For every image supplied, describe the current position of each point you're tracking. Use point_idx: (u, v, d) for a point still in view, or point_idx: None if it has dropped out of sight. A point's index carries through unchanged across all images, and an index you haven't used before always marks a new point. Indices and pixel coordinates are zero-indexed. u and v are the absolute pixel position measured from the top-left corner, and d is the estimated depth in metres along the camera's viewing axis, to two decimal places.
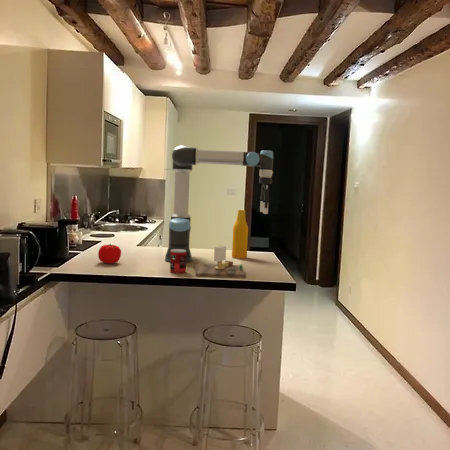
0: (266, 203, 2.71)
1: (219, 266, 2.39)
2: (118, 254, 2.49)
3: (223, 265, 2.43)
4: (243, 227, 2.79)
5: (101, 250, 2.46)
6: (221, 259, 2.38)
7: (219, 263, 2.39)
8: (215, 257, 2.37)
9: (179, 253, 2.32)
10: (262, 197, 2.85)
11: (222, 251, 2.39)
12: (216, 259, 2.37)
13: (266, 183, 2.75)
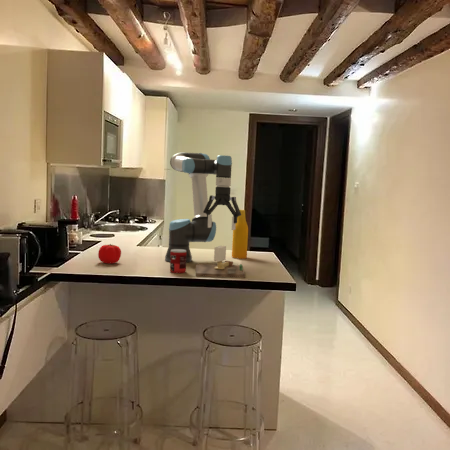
0: None
1: (219, 266, 2.39)
2: (118, 254, 2.49)
3: (223, 265, 2.43)
4: (243, 227, 2.79)
5: (101, 250, 2.46)
6: (221, 259, 2.38)
7: (219, 263, 2.39)
8: (215, 257, 2.37)
9: (179, 253, 2.32)
10: None
11: (222, 251, 2.39)
12: (216, 259, 2.37)
13: None
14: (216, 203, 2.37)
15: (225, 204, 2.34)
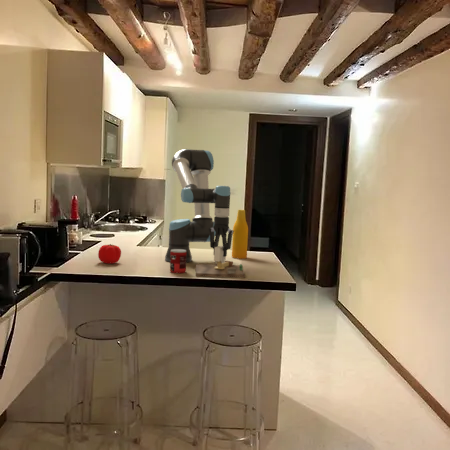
0: None
1: (219, 266, 2.39)
2: (118, 254, 2.49)
3: (223, 265, 2.43)
4: (243, 227, 2.79)
5: (101, 250, 2.46)
6: None
7: (219, 263, 2.39)
8: (215, 257, 2.37)
9: (179, 253, 2.32)
10: None
11: None
12: (216, 259, 2.37)
13: None
14: (217, 234, 2.38)
15: (221, 234, 2.37)
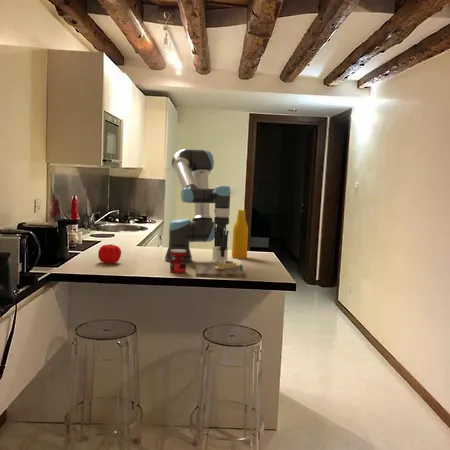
0: None
1: (218, 266, 2.39)
2: (118, 254, 2.49)
3: (225, 266, 2.42)
4: (243, 227, 2.79)
5: (101, 250, 2.46)
6: None
7: (218, 263, 2.39)
8: (213, 256, 2.38)
9: (179, 253, 2.32)
10: None
11: None
12: (214, 258, 2.38)
13: None
14: (217, 233, 2.39)
15: (218, 234, 2.37)
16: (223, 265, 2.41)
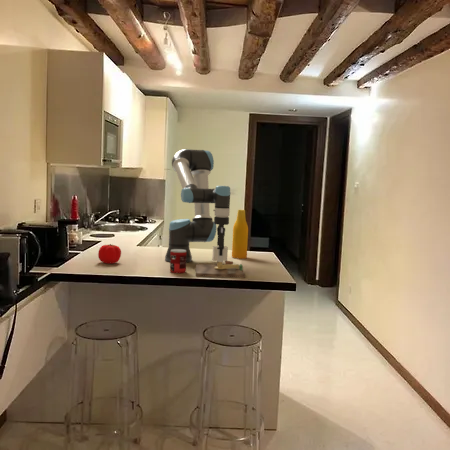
0: None
1: (217, 266, 2.40)
2: (118, 254, 2.49)
3: (226, 266, 2.41)
4: (243, 227, 2.79)
5: (101, 250, 2.46)
6: None
7: (217, 263, 2.40)
8: (213, 256, 2.40)
9: (179, 253, 2.32)
10: None
11: None
12: (213, 258, 2.39)
13: None
14: (217, 233, 2.41)
15: (217, 234, 2.36)
16: (223, 265, 2.40)
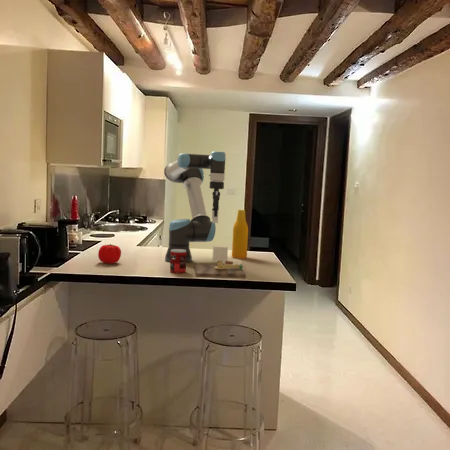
0: None
1: (217, 266, 2.40)
2: (118, 254, 2.49)
3: (226, 266, 2.41)
4: (243, 227, 2.79)
5: (101, 250, 2.46)
6: (218, 259, 2.38)
7: (217, 263, 2.40)
8: (213, 256, 2.40)
9: (179, 253, 2.32)
10: None
11: (220, 251, 2.38)
12: (213, 258, 2.39)
13: None
14: None
15: None
16: (223, 265, 2.40)
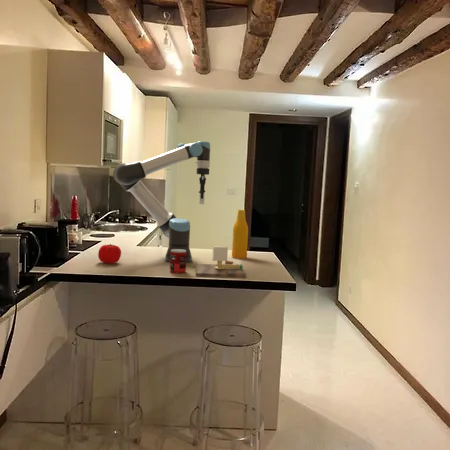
0: None
1: (217, 266, 2.40)
2: (118, 254, 2.49)
3: (226, 266, 2.41)
4: (243, 227, 2.79)
5: (101, 250, 2.46)
6: (218, 259, 2.38)
7: (217, 263, 2.40)
8: (213, 256, 2.40)
9: (179, 253, 2.32)
10: None
11: (220, 251, 2.38)
12: (213, 258, 2.39)
13: None
14: None
15: None
16: (223, 265, 2.40)
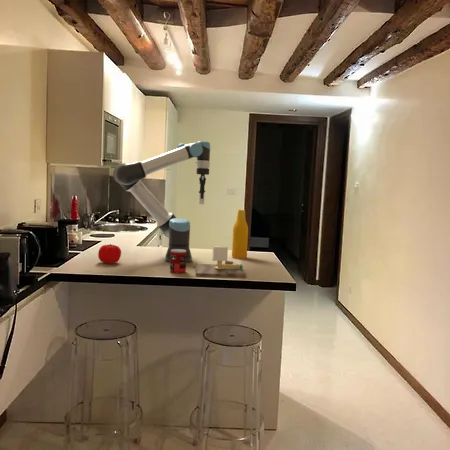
0: None
1: (217, 266, 2.40)
2: (118, 254, 2.49)
3: (226, 266, 2.41)
4: (243, 227, 2.79)
5: (101, 250, 2.46)
6: (218, 259, 2.38)
7: (217, 263, 2.40)
8: (213, 256, 2.40)
9: (179, 253, 2.32)
10: None
11: (220, 251, 2.38)
12: (213, 258, 2.39)
13: None
14: None
15: None
16: (223, 265, 2.40)
